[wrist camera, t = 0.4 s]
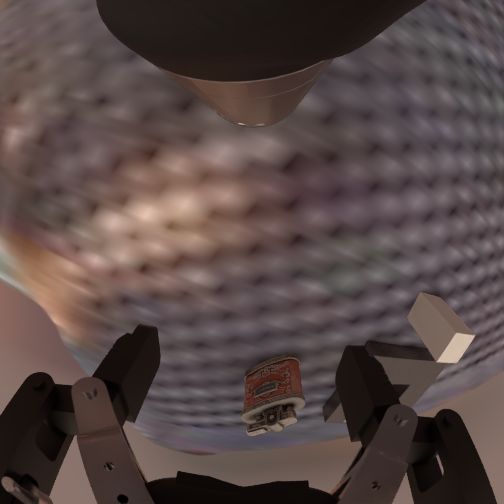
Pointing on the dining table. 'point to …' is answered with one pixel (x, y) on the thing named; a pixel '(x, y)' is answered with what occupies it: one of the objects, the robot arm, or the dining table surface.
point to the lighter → (272, 394)
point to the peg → (439, 328)
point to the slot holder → (395, 375)
